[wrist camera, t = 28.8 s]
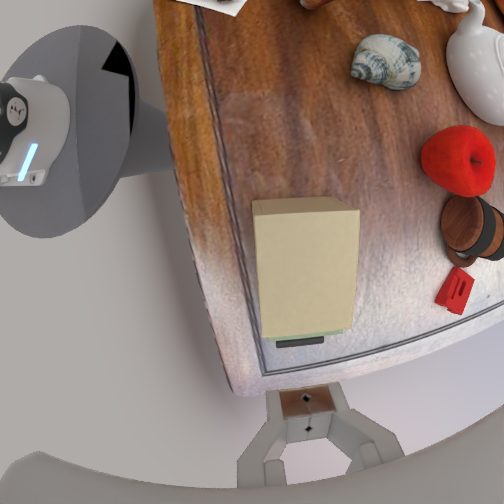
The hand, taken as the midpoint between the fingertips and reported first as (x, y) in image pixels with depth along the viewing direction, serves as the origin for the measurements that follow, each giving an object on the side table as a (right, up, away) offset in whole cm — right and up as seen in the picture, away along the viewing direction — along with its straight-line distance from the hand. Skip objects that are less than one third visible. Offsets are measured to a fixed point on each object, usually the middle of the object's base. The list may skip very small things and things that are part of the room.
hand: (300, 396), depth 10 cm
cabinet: (+3, +6, +25) cm, 26 cm away
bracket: (+31, 0, +24) cm, 40 cm away
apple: (+23, +19, +21) cm, 36 cm away
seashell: (+15, +30, +17) cm, 38 cm away
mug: (+25, +9, +20) cm, 34 cm away
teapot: (+35, +34, +16) cm, 52 cm away
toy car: (-7, +40, +13) cm, 43 cm away
